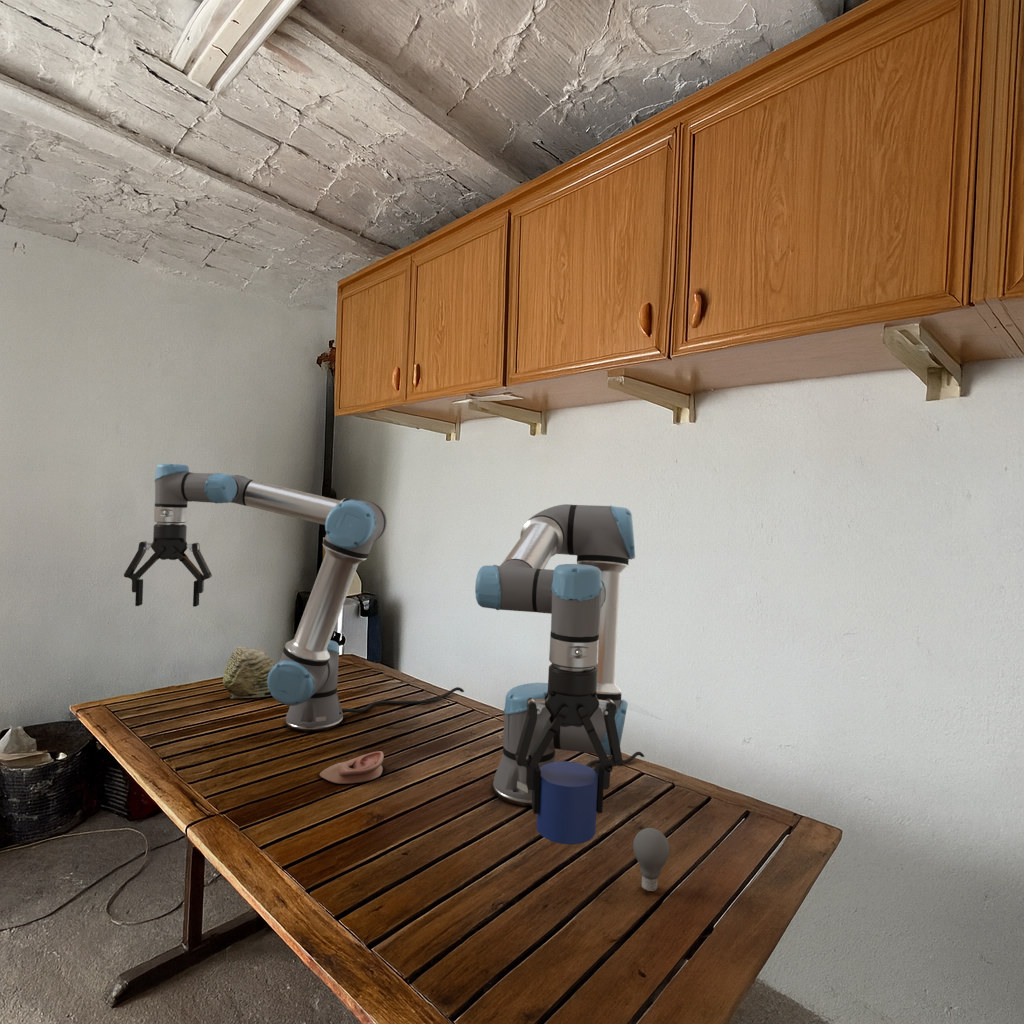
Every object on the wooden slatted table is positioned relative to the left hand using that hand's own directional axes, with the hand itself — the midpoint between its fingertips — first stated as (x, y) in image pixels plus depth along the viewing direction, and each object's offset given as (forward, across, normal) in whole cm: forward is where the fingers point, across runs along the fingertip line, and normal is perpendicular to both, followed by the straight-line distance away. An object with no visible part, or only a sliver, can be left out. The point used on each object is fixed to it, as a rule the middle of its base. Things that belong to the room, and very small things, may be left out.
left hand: (167, 605), depth 164 cm
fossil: (+33, +17, +31) cm, 48 cm away
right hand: (+16, +83, -85) cm, 120 cm away
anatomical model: (+33, +49, -30) cm, 66 cm away
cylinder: (+19, +83, -85) cm, 120 cm away
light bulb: (+33, +100, -80) cm, 132 cm away
